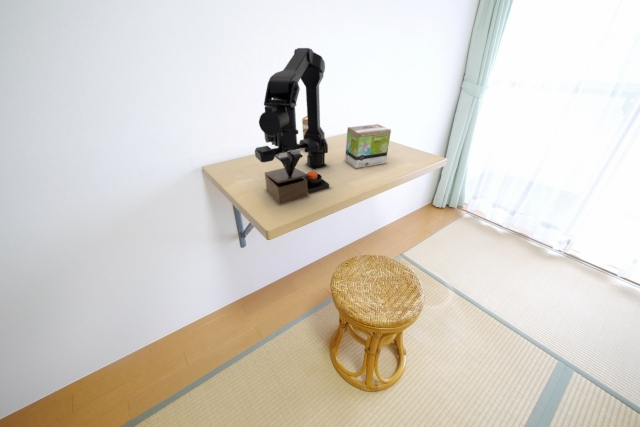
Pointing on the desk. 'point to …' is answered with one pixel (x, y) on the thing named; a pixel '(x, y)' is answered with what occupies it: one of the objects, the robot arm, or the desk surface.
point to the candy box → (305, 125)
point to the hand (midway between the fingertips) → (289, 175)
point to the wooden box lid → (285, 175)
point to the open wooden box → (287, 189)
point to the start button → (312, 175)
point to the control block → (316, 184)
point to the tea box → (367, 145)
